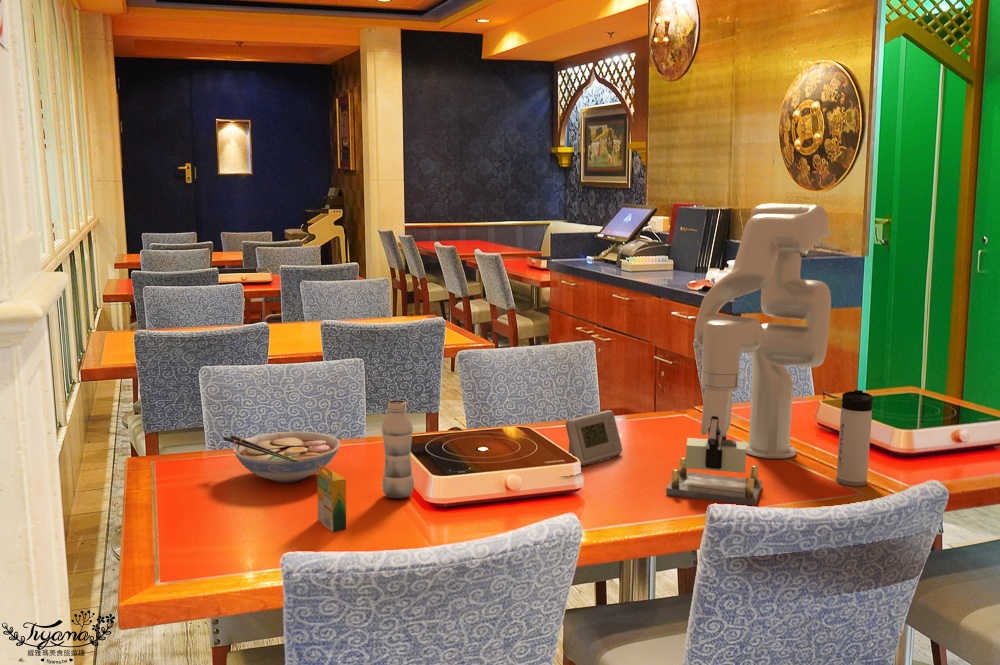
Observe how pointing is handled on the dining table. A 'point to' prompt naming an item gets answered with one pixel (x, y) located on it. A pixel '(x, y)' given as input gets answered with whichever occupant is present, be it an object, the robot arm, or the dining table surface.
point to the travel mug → (854, 438)
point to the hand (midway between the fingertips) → (715, 462)
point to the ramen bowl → (285, 454)
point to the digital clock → (594, 437)
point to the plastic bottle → (397, 451)
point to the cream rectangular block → (730, 455)
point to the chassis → (714, 486)
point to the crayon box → (331, 499)
